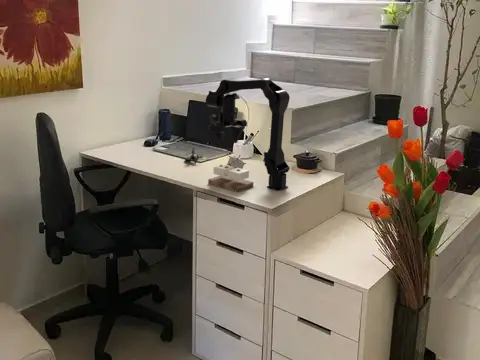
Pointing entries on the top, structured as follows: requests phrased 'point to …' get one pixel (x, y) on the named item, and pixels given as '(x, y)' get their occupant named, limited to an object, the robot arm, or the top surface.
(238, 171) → the tile one
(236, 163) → the game die
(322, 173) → the top surface
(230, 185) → the brown flat slab
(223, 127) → the robot arm
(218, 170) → the tile two
